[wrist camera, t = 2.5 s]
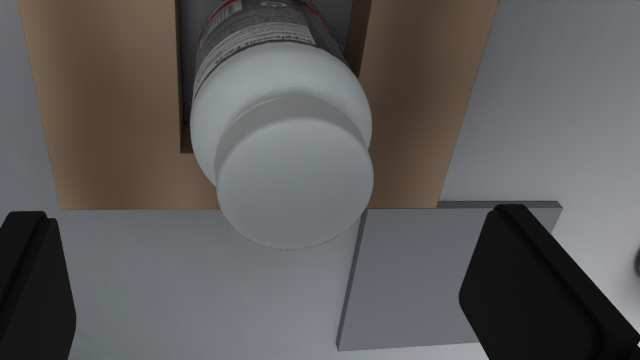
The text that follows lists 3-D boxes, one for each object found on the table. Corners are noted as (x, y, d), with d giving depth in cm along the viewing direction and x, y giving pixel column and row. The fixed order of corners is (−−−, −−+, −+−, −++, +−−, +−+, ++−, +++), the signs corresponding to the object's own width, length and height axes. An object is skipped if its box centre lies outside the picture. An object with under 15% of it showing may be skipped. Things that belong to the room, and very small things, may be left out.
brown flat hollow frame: (490, -91, 19) (523, -82, 17) (418, 177, 25) (435, 207, 23) (16, -151, 16) (-14, -148, 14) (74, 175, 22) (60, 209, 20)
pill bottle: (341, 94, 22) (411, 242, 14) (222, 126, 22) (224, 292, 14) (316, -33, 19) (387, 64, 11) (177, 3, 19) (147, 127, 11)
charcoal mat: (557, 201, 28) (563, 207, 27) (495, 333, 34) (499, 340, 33) (365, 201, 26) (368, 209, 25) (336, 343, 32) (337, 351, 31)
